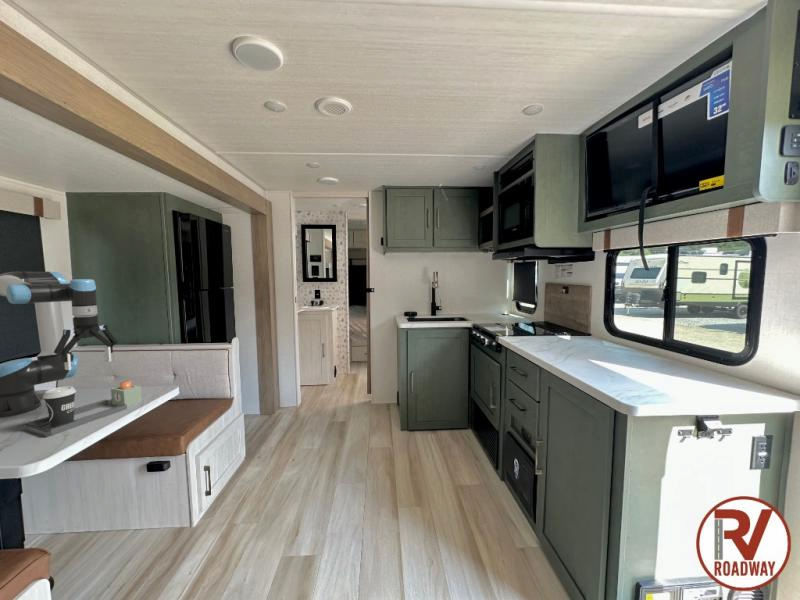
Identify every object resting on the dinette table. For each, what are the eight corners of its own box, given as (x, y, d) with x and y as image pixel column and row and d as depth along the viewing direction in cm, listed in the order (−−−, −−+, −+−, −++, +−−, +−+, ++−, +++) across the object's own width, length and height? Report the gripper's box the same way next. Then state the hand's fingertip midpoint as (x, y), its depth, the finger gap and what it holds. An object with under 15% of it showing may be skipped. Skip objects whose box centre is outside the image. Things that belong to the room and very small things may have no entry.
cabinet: (110, 405, 151) (109, 389, 150) (129, 399, 158) (128, 383, 157) (123, 408, 147) (122, 391, 146) (141, 402, 154) (140, 386, 153)
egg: (119, 395, 151) (118, 383, 151) (128, 392, 155) (127, 380, 154) (124, 396, 150) (123, 384, 149) (133, 393, 153) (132, 381, 153)
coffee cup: (56, 431, 126) (53, 394, 124) (38, 428, 127) (35, 392, 126) (85, 420, 135) (82, 386, 134) (67, 418, 137) (64, 384, 136)
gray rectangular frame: (24, 429, 127) (23, 423, 127) (105, 404, 151) (104, 399, 151) (46, 437, 121) (45, 431, 120) (127, 409, 145) (126, 404, 145)
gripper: (49, 320, 120) (54, 374, 122) (125, 312, 143) (128, 358, 145) (38, 319, 122) (43, 372, 124) (114, 312, 146) (117, 357, 147)
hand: (89, 365), depth 134 cm, fingers open, 13 cm apart
